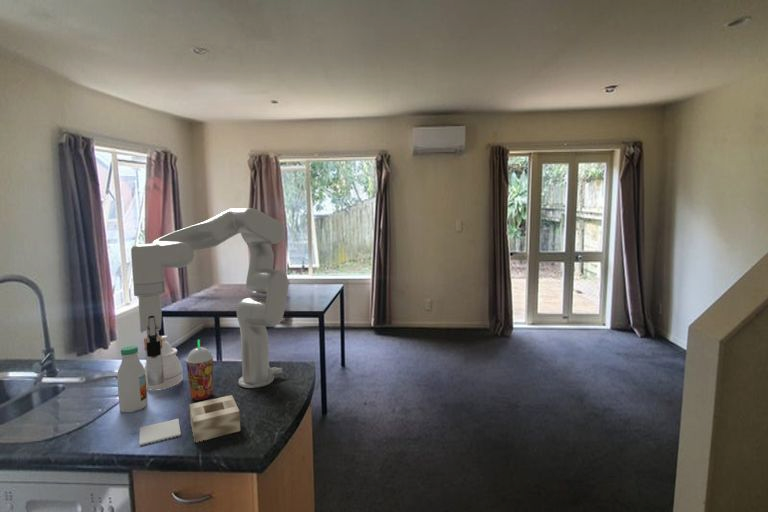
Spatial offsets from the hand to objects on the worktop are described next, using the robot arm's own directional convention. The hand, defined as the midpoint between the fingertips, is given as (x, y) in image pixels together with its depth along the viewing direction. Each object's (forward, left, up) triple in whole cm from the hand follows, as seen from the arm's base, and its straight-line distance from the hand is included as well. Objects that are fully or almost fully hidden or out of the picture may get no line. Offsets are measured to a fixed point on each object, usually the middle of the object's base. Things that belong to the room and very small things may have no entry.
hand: (154, 352), depth 113 cm
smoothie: (-13, -19, -24) cm, 33 cm away
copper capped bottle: (0, 0, -9) cm, 9 cm away
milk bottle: (+7, -22, -24) cm, 33 cm away
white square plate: (0, 0, -24) cm, 24 cm away
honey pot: (-2, -39, -24) cm, 46 cm away
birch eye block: (-14, +5, -24) cm, 28 cm away
